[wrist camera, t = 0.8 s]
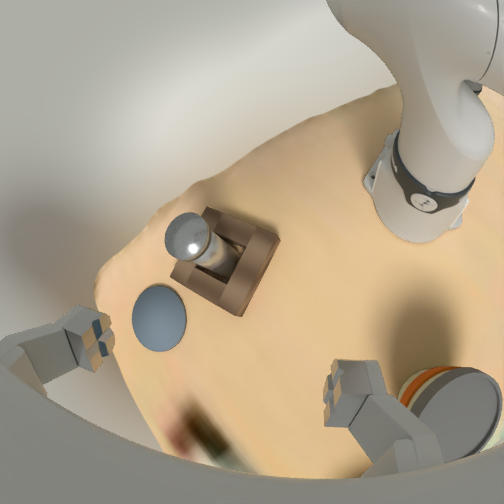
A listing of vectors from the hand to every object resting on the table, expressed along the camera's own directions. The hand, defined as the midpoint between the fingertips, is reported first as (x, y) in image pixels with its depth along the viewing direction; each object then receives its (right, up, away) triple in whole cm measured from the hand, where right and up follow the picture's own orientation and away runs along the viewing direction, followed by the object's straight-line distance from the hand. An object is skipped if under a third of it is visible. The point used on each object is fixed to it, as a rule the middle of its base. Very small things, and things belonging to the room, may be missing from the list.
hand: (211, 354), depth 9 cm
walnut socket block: (-3, +2, +37) cm, 37 cm away
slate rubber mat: (-16, -9, +38) cm, 42 cm away
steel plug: (-3, +2, +37) cm, 37 cm away
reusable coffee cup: (+27, -19, +22) cm, 40 cm away
